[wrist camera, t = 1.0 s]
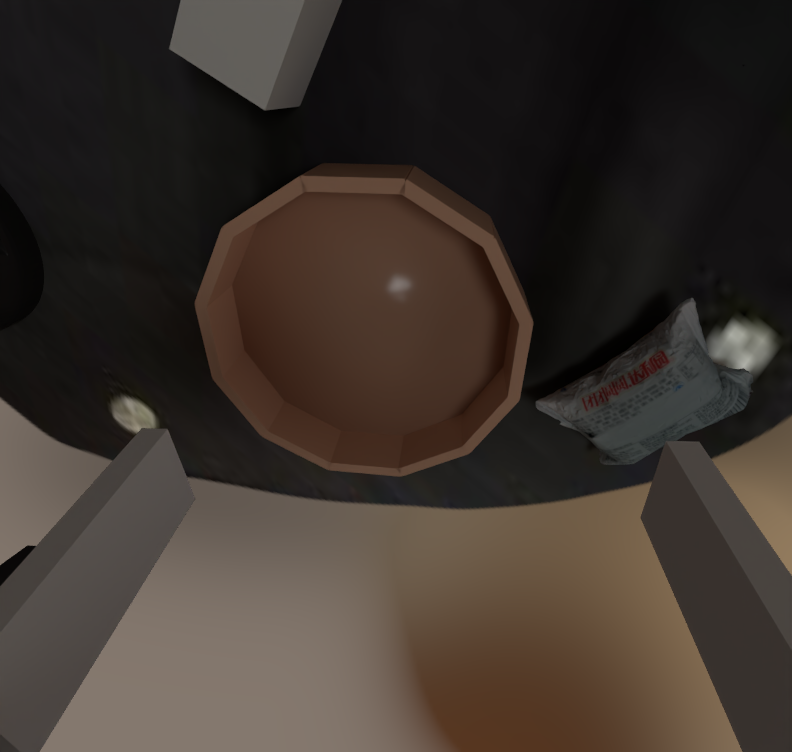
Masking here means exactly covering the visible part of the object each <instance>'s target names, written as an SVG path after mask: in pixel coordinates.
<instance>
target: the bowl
mask: <svg viewBox="0 0 792 752" xmlns="http://www.w3.org/2000/svg"><path fill="white" fill-rule="evenodd" d="M194 305H195V309H196V313H197V317H198V321H199V325H200V330H201V334H202V338H203V342H204V346H205V350H206V355H207V359H208V363H209V367H210V371H211V375H212V378H213V380H214V381H215V383H216V384H217V385H218V386H219V387H220V388H221V390H222V391H223V392H224V393H225V394H226V395H227V397H228V398H229V399H230V400H231V401H232V402H233V404H234V405H235V406H236V407H237V408H238V409H239V411H240V412H241V413H242V414H243V415H244V417H245V418H246V419H247V420H248V421H249V422H250V424H251V425H252V426H253V427H254V428H255V429H256V431H257V432H258V433H259V434H260V435H261V436H262V437H263V438H265V439H267V440H269V441H271V442H273V443H275V444H277V445H279V446H281V447H283V448H285V449H287V450H289V451H291V452H293V453H295V454H297V455H299V456H301V457H303V458H305V459H307V460H309V461H311V462H313V463H315V464H317V465H319V466H321V467H323V468H325V469H327V470H328V469H329V470H332V471H344V472H355V473H366V474H377V475H389V476H404V475H407V474H410V473H413V472H416V471H419V470H422V469H425V468H428V467H431V466H434V465H437V464H440V463H443V462H446V461H449V460H452V459H455V458H458V457H461V456H464V455H467V454H469V453H470V452H471V451H472V450H473V449H474V448H475V447H476V446H477V445H478V444H479V443H480V442H481V441H482V440H483V439H484V438H485V437H486V435H487V434H488V433H489V432H490V431H491V430H492V429H493V428H494V427H495V426H496V425H497V424H498V423H499V422H500V421H501V420H502V419H503V417H504V416H505V415H506V414H507V413H508V412H509V411H510V410H511V409H512V408H513V407H514V406H515V405H516V404H517V403H518V402H519V400H520V395H521V389H522V384H523V378H524V372H525V367H526V361H527V356H528V350H529V345H530V339H531V333H532V328H533V319H532V316H531V313H530V310H529V306H528V303H527V300H526V297H525V294H524V291H523V288H522V286H521V284H520V282H519V279H518V277H517V275H516V273H515V271H514V268H513V266H512V264H511V262H510V259H509V257H508V255H507V253H506V250H505V248H504V246H503V244H502V241H501V239H500V237H499V235H498V233H497V230H496V228H495V226H494V224H493V221H492V219H491V217H490V216H489V215H488V214H486V213H485V212H483V211H482V210H480V209H479V208H477V207H476V206H474V205H473V204H471V203H470V202H468V201H467V200H465V199H464V198H462V197H461V196H459V195H458V194H456V193H455V192H453V191H452V190H450V189H449V188H447V187H446V186H444V185H443V184H441V183H440V182H438V181H437V180H435V179H434V178H432V177H431V176H429V175H428V174H426V173H425V172H423V171H422V170H420V169H419V168H417V167H416V166H414V167H413V165H380V164H338V163H323V164H321V165H319V166H317V167H315V168H313V169H312V170H310V171H308V172H306V173H304V174H303V175H301V176H299V177H297V178H296V179H294V180H293V181H291V182H290V183H288V184H287V185H285V186H284V187H282V188H281V189H279V190H278V191H276V192H274V193H273V194H271V195H270V196H268V197H267V198H265V199H264V200H262V201H261V202H259V203H258V204H256V205H255V206H253V207H251V208H250V209H248V210H247V211H245V212H244V213H242V214H241V215H239V216H238V217H236V218H235V219H233V220H232V221H230V222H228V223H227V224H225V225H224V226H223V227H222V228H221V231H220V234H219V236H218V239H217V242H216V245H215V248H214V250H213V253H212V256H211V259H210V261H209V264H208V267H207V270H206V272H205V275H204V278H203V281H202V284H201V286H200V289H199V292H198V295H197V297H196V300H195V304H194Z"/></svg>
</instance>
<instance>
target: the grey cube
mask: <svg viewBox="0 0 792 752" xmlns="http://www.w3.org/2000/svg"><path fill="white" fill-rule="evenodd" d="M341 1H342V0H181V2H180V6H179V10H178V15H177V19H176V23H175V27H174V31H173V35H172V40H171V44H170V48H169V49H170V50H172V51H173V52H175V53H177V54H178V55H180V56H181V57H183V58H184V59H186V60H187V61H189V62H191V63H192V64H194V65H195V66H197V67H198V68H200V69H201V70H203V71H204V72H206V73H208V74H209V75H211V76H212V77H214V78H215V79H217V80H218V81H220V82H222V83H223V84H225V85H226V86H228V87H229V88H231V89H232V90H234V91H235V92H237V93H239V94H240V95H242V96H243V97H245V98H246V99H248V100H249V101H251V102H253V103H254V104H256V105H257V106H259V107H260V108H262V109H263V110H273V109H281V108H290V107H298V106H300V104H301V102H302V99H303V97H304V94H305V92H306V89H307V87H308V84H309V82H310V79H311V77H312V74H313V72H314V69H315V67H316V64H317V62H318V59H319V57H320V54H321V52H322V49H323V47H324V44H325V42H326V39H327V37H328V34H329V32H330V29H331V27H332V24H333V22H334V19H335V16H336V14H337V11H338V9H339V6H340V4H341Z"/></svg>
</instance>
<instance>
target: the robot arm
mask: <svg viewBox="0 0 792 752" xmlns="http://www.w3.org/2000/svg"><path fill="white" fill-rule="evenodd" d="M43 284H44V270H43V263H42V258H41V254H40V250H39V247H38V244H37V242H36V239H35V237H34V234H33V232H32V230H31V228H30V226H29V224H28V222H27V221H26V219H25V217H24V215H23V214H22V212H21V211H20V209H19V208H18V206H17V205H16V203H15V202H14V200H13V199H12V198H11V197H10V195H9V194H8V193H7V192H6V190H5V189H4V188H3V187H2V186H1V185H0V330H2V329H4V328H6V327H8V326H10V325H12V324H13V323H15V322H17V321H19V320H21V319H23V318H24V317H26V316H27V315H29V314H30V313H31V312H32V311H33V310H34V308H35V307H36V305H37V304H38V302H39V300H40V297H41V294H42V290H43ZM194 500H195V497H194V495H193V492H192V489H191V487H190V484H189V482H188V479H187V477H186V474H185V472H184V469H183V467H182V464H181V462H180V459H179V457H178V454H177V452H176V449H175V447H174V444H173V442H172V439H171V437H170V434H169V431H168V429H147V428H142V429H141V430H140V431H139V432H138V433H137V434H136V436H135V437H134V438H133V439H132V440H131V441H130V442H129V443H128V444H127V446H126V447H125V448H124V449H123V450H122V451H121V452H120V453H119V455H118V456H117V457H116V458H115V459H114V460H113V461H112V462H111V463H110V465H109V466H108V467H107V468H106V469H105V470H104V471H103V472H102V474H101V475H100V476H99V477H98V478H97V479H96V480H95V481H94V482H93V484H92V485H91V486H90V487H89V488H88V489H87V490H86V491H85V492H84V494H83V495H82V496H81V497H80V498H79V499H78V500H77V501H76V503H75V504H74V505H73V506H72V507H71V508H70V509H69V510H68V512H67V513H66V514H65V515H64V516H63V517H62V518H61V519H60V520H59V521H58V523H57V524H56V525H55V526H54V527H53V528H52V529H51V530H50V531H49V533H48V534H47V535H46V536H45V537H44V538H43V539H42V540H41V542H40V543H39V544H38V545H37V546H26V547H25V548H23V549H22V550H21V551H19V552H18V553H17V554H15V555H14V556H12V557H11V558H10V559H8V560H7V561H5V562H4V563H3V564H1V565H0V752H40V750H41V748H42V747H43V745H44V744H45V742H46V740H47V739H48V737H49V735H50V734H51V732H52V731H53V729H54V727H55V726H56V724H57V722H58V721H59V719H60V718H61V716H62V714H63V713H64V711H65V710H66V708H67V706H68V705H69V703H70V701H71V700H72V698H73V697H74V695H75V693H76V692H77V690H78V688H79V687H80V685H81V684H82V682H83V680H84V679H85V677H86V675H87V674H88V672H89V670H90V669H91V667H92V666H93V664H94V662H95V661H96V659H97V657H98V656H99V654H100V653H101V651H102V649H103V648H104V646H105V645H106V643H107V641H108V640H109V638H110V636H111V635H112V633H113V632H114V630H115V628H116V627H117V625H118V623H119V622H120V620H121V619H122V617H123V615H124V614H125V612H126V610H127V609H128V607H129V606H130V604H131V602H132V601H133V599H134V598H135V596H136V594H137V593H138V591H139V589H140V588H141V586H142V584H143V583H144V581H145V580H146V578H147V576H148V575H149V573H150V572H151V570H152V568H153V567H154V565H155V563H156V562H157V560H158V559H159V557H160V555H161V554H162V552H163V550H164V549H165V547H166V546H167V544H168V542H169V541H170V539H171V537H172V536H173V534H174V532H175V531H176V529H177V528H178V526H179V524H180V523H181V521H182V520H183V518H184V516H185V515H186V513H187V511H188V510H189V508H190V507H191V505H192V503H193V502H194ZM641 520H642V522H643V524H644V526H645V529H646V531H647V533H648V536H649V538H650V540H651V542H652V545H653V547H654V550H655V552H656V554H657V556H658V558H659V561H660V563H661V565H662V568H663V570H664V572H665V575H666V577H667V579H668V582H669V584H670V586H671V588H672V591H673V593H674V595H675V598H676V600H677V602H678V604H679V607H680V609H681V611H682V614H683V616H684V618H685V621H686V623H687V625H688V628H689V630H690V632H691V634H692V636H693V639H694V641H695V643H696V646H697V648H698V650H699V653H700V655H701V657H702V659H703V662H704V664H705V666H706V669H707V671H708V673H709V676H710V678H711V680H712V683H713V685H714V687H715V689H716V692H717V694H718V696H719V699H720V701H721V703H722V706H723V708H724V710H725V712H726V714H727V717H728V719H729V721H730V723H731V726H732V728H733V731H734V733H735V735H736V737H737V740H738V742H739V745H740V747H741V749H742V751H743V752H792V576H791V574H790V573H789V571H788V570H787V569H786V567H785V566H784V564H783V563H782V561H781V560H780V558H779V557H778V555H777V554H776V552H775V551H774V550H773V548H772V547H771V545H770V544H769V543H768V541H767V539H766V538H765V537H764V535H763V534H762V532H761V531H760V530H759V528H758V527H757V525H756V524H755V522H754V521H753V520H752V518H751V516H750V515H749V513H748V512H747V511H746V509H745V508H744V506H743V505H742V503H741V502H740V500H739V499H738V498H737V496H736V495H735V493H734V492H733V490H732V489H731V487H730V486H729V484H728V483H727V482H726V480H725V479H724V477H723V476H722V475H721V473H720V471H719V470H718V469H717V467H716V466H715V465H714V463H713V461H712V460H711V458H710V457H709V456H708V454H707V453H706V451H705V450H704V448H703V447H702V445H701V444H700V443H699V442H685V441H666V442H665V445H664V448H663V451H662V454H661V457H660V460H659V463H658V467H657V470H656V473H655V476H654V479H653V482H652V485H651V488H650V491H649V494H648V497H647V500H646V503H645V506H644V509H643V512H642V515H641Z"/></svg>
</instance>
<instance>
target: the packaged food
mask: <svg viewBox="0 0 792 752" xmlns="http://www.w3.org/2000/svg"><path fill="white" fill-rule="evenodd" d="M695 304H696V302H695V301H694V299H693V298H690V299H687V300H685V301H684V302H682V303H680V305H679V306H678V307H677V308H676V309H675V310H674V311H673V312H671V314H670V315H669V316H668V317H667V318H666V319H665V321H664V322H661V323H660V324H658V325H657V326H656V327H655V328H654V329H653V330H652V331H650V332H649V333H648V334H646V335H645V336H643V337H642V338H641V339H640V340H638V341H637V342H636V343H635V344H633V345H632V346H631V347H630V348H628V349H627V350H626V351H624V352H623V353H621V354H620V355H618V356H616V357H615V358H613V359H611V360H609V361H608V362H607V363H606V364H604V365H602V366H600V367H598V368H597V369H595V370H594V371H592V372H590V373H588V374H586V375H584V376H582V377H581V378H579V379H577V380H575V381H574V382H572V383H570V384H568V385H566V386H564V387H562V388H561V389H559V390H557V391H555V392H554V393H553V394H549V395H548V396H547V397H545V398H542V399H539V400H538V401H536V408H537V409H538V410H540V411H542V412H544V413H546V414H549V415H550V416H552V417H553V418H555V419H558V420H560V421H561V422H562V423H560V425H563V426H565V427H568V428H572V429H574V430H576V431H579V432H580V433H581V434H583V435H584V436H585V437H586V438H588V439H589V440H590V441H591V442H592V443H593V444H594V445H595V446H596V447H597V448H598V449H600V459H599V460H600V462H601V463H602V464H607V465H626V464H634V463H635V462H637V461H639V460H641V459H642V458H644V457H646V456H647V455H649V454H651V453H652V452H654V451H656V450H658V449H659V448H661V447H663V446H664V445H665V442H666V441H676V440H678V439H680V438H681V437H683V436H684V435H686V434H688V433H691V432H694V431H697V430H699V429H702V428H704V427H706V426H708V425H711V424H713V423H716V422H718V421H719V420H721V419H724V418H726V417H729V416H731V415H733V414H735V413H737V412H738V411H741V410H743V409H744V408H745V407H746V405H747V402H748V399H749V397H750V396H751V395H750V394H751V393H752V392H753V391H752V390H751V387H750V384H751V383H753V376H752V374H750V373H749V371H746V370H745V369H744V368H743V369H732V368H728V367H726V366H722V365H719V364H716V363H713V361H712V359H711V357H709V355H708V349H707V345H706V343H705V339H704V336H703V334H702V330H701V326H700V325H699V319H698V313H697V309H696V307H695Z"/></svg>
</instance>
